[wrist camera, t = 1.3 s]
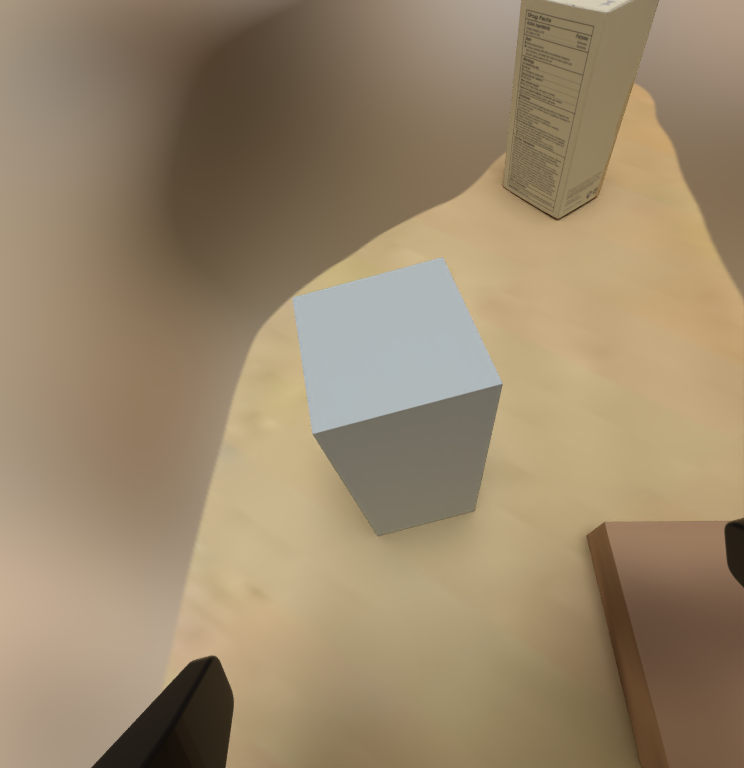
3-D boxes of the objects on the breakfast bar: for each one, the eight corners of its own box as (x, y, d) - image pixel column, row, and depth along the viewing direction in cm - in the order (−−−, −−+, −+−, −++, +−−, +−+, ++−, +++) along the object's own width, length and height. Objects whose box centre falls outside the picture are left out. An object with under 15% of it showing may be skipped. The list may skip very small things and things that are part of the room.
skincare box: (599, 196, 31) (674, -20, 21) (555, 223, 30) (610, 12, 20) (538, 163, 34) (577, -37, 24) (497, 186, 34) (519, -11, 24)
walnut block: (889, 781, 14) (984, 810, 12) (636, 763, 15) (674, 787, 13) (775, 537, 18) (826, 520, 16) (584, 537, 19) (604, 521, 17)
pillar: (474, 510, 20) (502, 383, 10) (377, 536, 21) (312, 434, 10) (444, 424, 23) (442, 257, 13) (358, 446, 23) (292, 297, 13)
